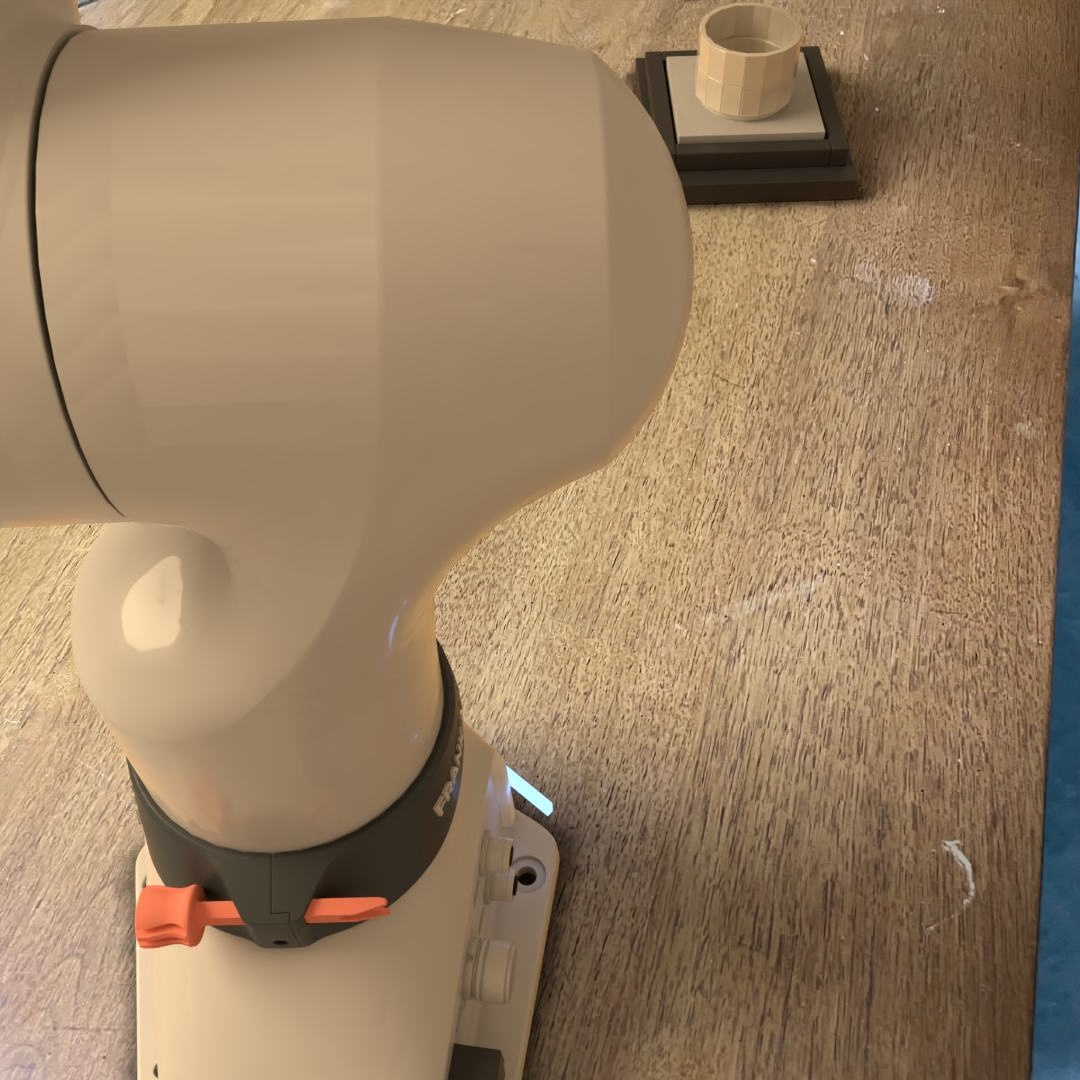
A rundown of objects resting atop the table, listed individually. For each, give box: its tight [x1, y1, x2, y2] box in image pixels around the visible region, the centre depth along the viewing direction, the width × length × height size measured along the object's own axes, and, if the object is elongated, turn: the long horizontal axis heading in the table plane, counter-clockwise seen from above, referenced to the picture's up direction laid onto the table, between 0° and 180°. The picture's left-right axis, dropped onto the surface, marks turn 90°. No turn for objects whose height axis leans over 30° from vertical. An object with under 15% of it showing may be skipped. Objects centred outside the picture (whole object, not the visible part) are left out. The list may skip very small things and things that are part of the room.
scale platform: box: [666, 52, 825, 144], centre depth 86 cm, size 10×10×2 cm
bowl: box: [694, 1, 804, 121], centre depth 83 cm, size 7×7×5 cm
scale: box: [634, 45, 859, 205], centre depth 87 cm, size 16×14×3 cm
